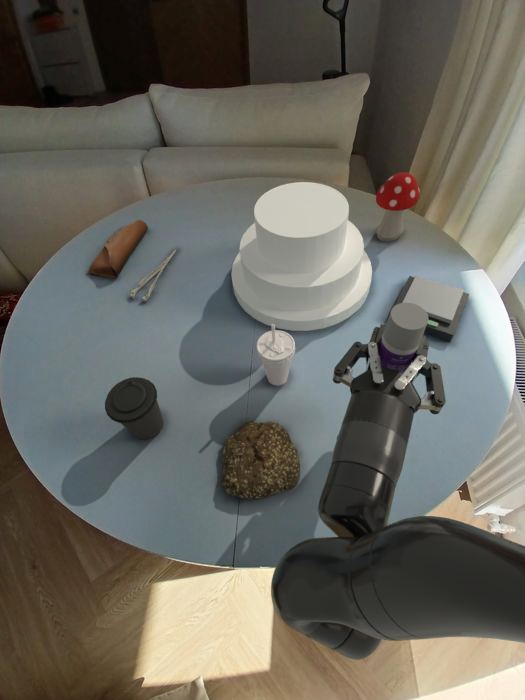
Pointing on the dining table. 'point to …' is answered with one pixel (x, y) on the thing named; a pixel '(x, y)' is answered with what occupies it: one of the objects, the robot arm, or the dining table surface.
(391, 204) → the decorative mushroom
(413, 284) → the scale
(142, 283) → the jawbone
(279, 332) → the smoothie
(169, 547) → the dining table surface
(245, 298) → the cake
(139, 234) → the sunglasses case
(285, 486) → the bread roll
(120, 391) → the coffee cup
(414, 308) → the container
